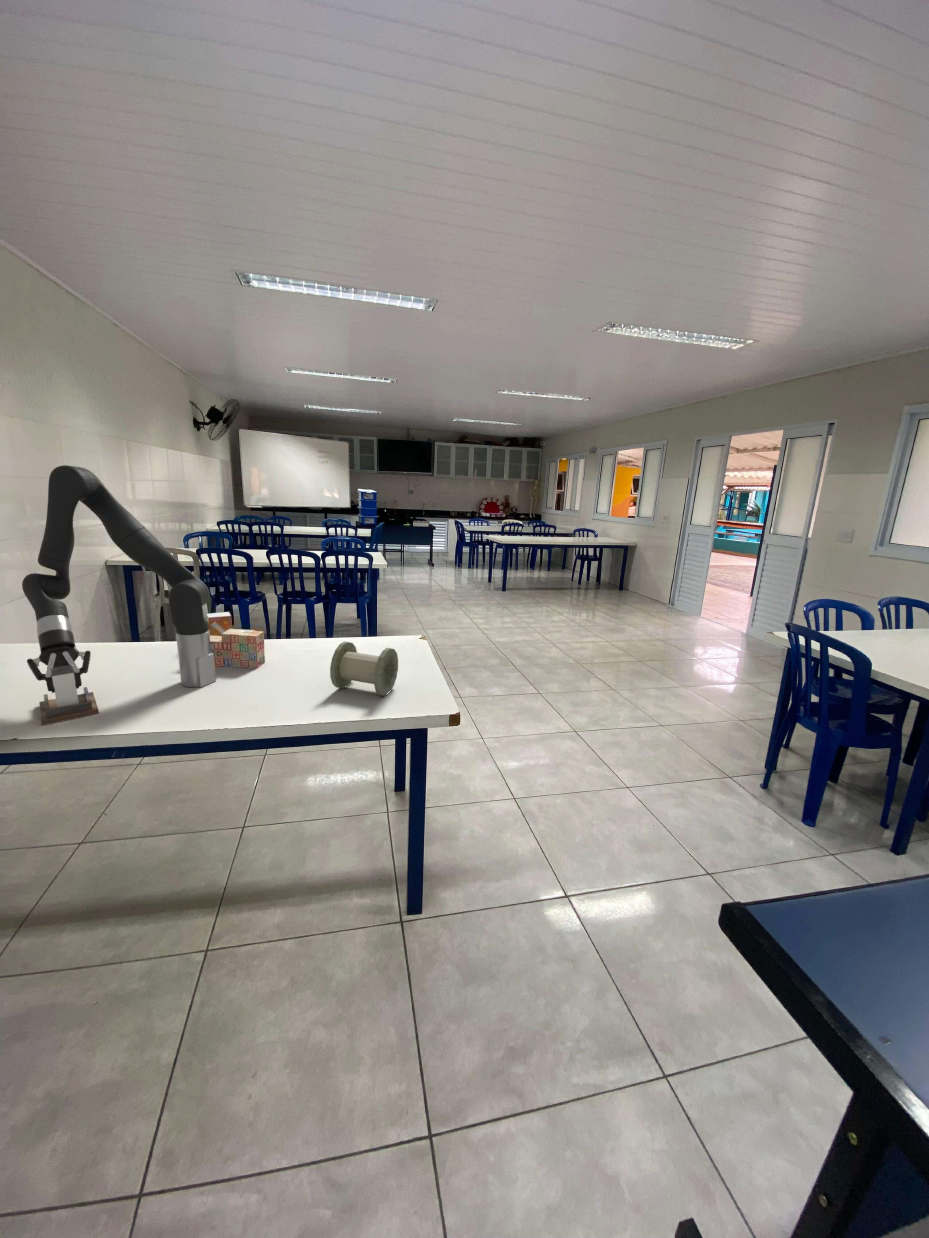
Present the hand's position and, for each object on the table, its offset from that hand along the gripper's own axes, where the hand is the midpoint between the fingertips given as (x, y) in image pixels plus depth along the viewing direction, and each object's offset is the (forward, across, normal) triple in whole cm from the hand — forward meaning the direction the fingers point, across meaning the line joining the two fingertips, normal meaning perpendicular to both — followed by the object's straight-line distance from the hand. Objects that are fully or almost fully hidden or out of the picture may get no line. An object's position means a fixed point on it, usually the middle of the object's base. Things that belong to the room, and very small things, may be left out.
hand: (65, 689), depth 129 cm
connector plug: (+2, 0, +5) cm, 5 cm away
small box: (-21, +49, +32) cm, 62 cm away
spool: (+27, +74, -16) cm, 80 cm away
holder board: (+3, 0, +8) cm, 8 cm away
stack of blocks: (-6, +46, +17) cm, 50 cm away
